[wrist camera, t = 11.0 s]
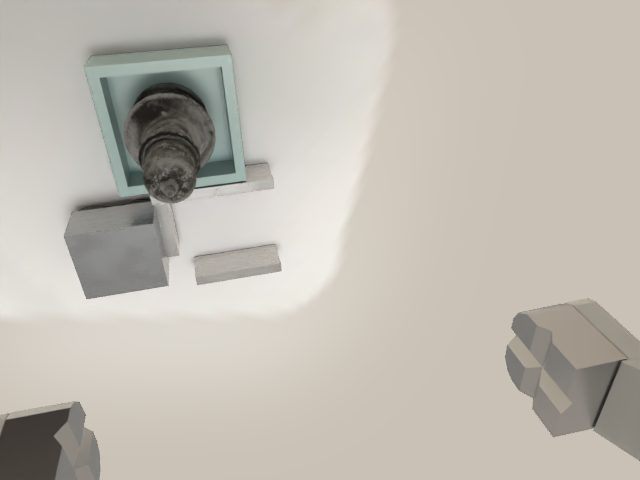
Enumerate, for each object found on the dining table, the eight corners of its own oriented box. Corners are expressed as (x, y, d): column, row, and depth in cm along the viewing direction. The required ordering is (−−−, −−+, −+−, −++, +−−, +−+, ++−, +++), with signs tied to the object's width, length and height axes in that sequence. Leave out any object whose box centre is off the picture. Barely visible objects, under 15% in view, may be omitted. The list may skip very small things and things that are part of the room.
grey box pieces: (99, 279, 43) (91, 314, 39) (68, 188, 38) (57, 217, 34) (275, 251, 45) (284, 281, 42) (267, 163, 41) (276, 187, 37)
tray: (123, 178, 39) (119, 197, 36) (90, 56, 34) (84, 67, 31) (242, 163, 40) (246, 180, 38) (227, 44, 35) (231, 54, 33)
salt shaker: (199, 167, 39) (207, 252, 29) (118, 144, 37) (98, 228, 27) (223, 95, 37) (241, 161, 27) (138, 65, 34) (124, 125, 24)
